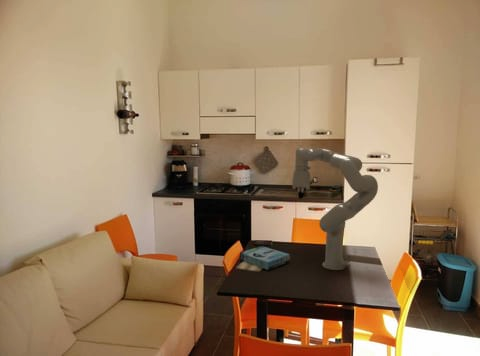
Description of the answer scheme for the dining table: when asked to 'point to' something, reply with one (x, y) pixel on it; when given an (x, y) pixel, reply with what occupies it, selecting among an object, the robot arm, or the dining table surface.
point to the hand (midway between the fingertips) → (300, 198)
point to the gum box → (264, 257)
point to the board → (248, 267)
